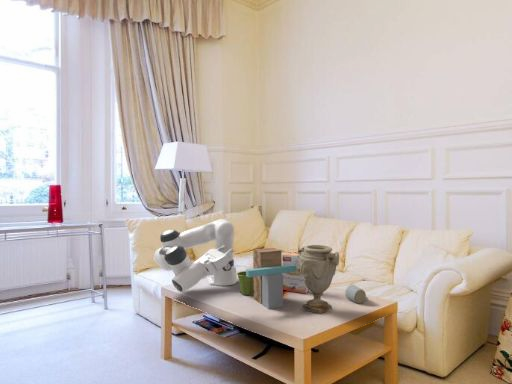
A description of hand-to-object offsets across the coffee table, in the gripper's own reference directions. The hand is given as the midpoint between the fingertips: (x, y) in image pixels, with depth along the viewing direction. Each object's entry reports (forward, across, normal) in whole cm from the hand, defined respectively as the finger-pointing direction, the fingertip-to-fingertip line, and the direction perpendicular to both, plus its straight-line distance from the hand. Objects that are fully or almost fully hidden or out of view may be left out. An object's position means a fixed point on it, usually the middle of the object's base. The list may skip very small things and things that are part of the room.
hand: (229, 248), depth 175 cm
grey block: (+3, +4, -36) cm, 37 cm away
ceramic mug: (+39, +18, -58) cm, 72 cm away
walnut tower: (+5, -6, -38) cm, 38 cm away
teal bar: (+11, +4, -22) cm, 25 cm away
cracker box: (+23, -12, -49) cm, 55 cm away
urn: (+18, +19, -45) cm, 52 cm away
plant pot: (+1, -21, -36) cm, 41 cm away
